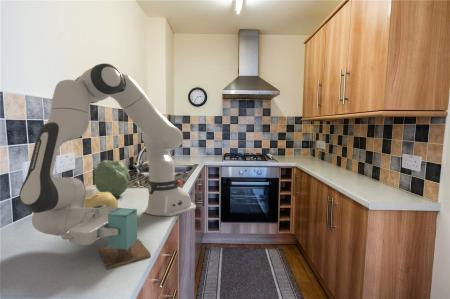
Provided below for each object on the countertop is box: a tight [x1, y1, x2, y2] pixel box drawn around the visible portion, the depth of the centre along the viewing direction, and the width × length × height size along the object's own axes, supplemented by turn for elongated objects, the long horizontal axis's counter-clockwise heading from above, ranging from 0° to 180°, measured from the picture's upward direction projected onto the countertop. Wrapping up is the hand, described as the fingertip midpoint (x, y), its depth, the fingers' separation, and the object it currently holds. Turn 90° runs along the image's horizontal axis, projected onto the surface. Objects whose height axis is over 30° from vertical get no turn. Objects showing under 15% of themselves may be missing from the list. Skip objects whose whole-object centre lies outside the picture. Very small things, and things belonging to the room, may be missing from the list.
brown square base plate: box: [99, 238, 152, 270], centre depth 76 cm, size 17×17×8 cm
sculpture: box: [84, 191, 119, 208], centre depth 106 cm, size 11×12×11 cm
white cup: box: [82, 185, 97, 208], centre depth 116 cm, size 8×8×10 cm
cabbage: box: [92, 159, 131, 198], centre depth 136 cm, size 16×19×20 cm
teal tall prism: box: [107, 207, 138, 250], centre depth 76 cm, size 6×6×10 cm
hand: (125, 226), depth 76 cm, fingers closed on teal tall prism, 6 cm apart
